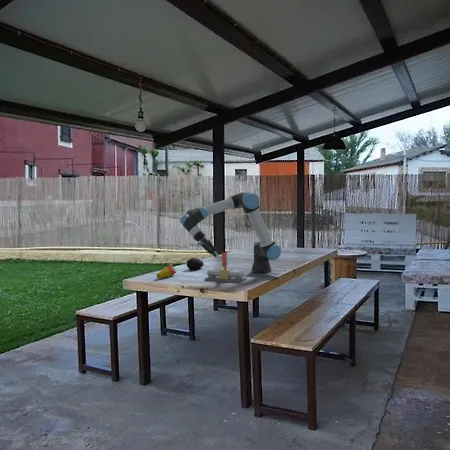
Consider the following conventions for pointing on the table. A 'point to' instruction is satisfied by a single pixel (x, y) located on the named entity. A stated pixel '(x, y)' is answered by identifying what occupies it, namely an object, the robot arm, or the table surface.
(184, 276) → the table surface
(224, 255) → the lever
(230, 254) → the table surface
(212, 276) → the valve base
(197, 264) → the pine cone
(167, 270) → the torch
